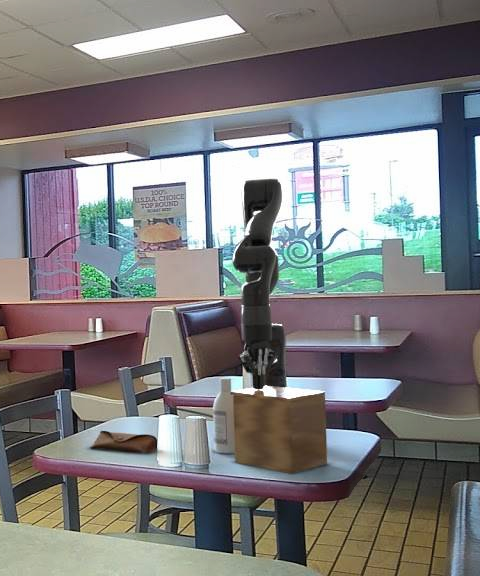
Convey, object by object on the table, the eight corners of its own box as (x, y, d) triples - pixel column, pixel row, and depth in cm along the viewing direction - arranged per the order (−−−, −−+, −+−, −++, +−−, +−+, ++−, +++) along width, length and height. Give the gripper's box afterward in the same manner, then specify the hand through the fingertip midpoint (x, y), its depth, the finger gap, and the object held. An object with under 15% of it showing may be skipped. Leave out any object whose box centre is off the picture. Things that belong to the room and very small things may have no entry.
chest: (235, 462, 212) (233, 395, 211) (271, 453, 220) (269, 389, 220) (291, 473, 198) (288, 401, 198) (327, 464, 206) (325, 395, 206)
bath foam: (236, 448, 228) (234, 376, 228) (244, 453, 221) (241, 379, 221) (211, 449, 228) (209, 377, 228) (218, 454, 221) (215, 380, 221)
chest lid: (230, 394, 212) (230, 391, 212) (266, 388, 220) (266, 385, 220) (288, 401, 198) (288, 398, 198) (325, 395, 206) (325, 391, 206)
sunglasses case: (87, 447, 234) (92, 425, 237) (96, 455, 239) (101, 433, 242) (147, 452, 224) (151, 429, 227) (156, 461, 229) (159, 438, 232)
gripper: (260, 320, 220) (262, 385, 220) (227, 323, 213) (230, 390, 213) (284, 321, 214) (286, 387, 214) (251, 324, 207) (254, 393, 207)
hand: (258, 389), depth 214 cm, fingers closed
